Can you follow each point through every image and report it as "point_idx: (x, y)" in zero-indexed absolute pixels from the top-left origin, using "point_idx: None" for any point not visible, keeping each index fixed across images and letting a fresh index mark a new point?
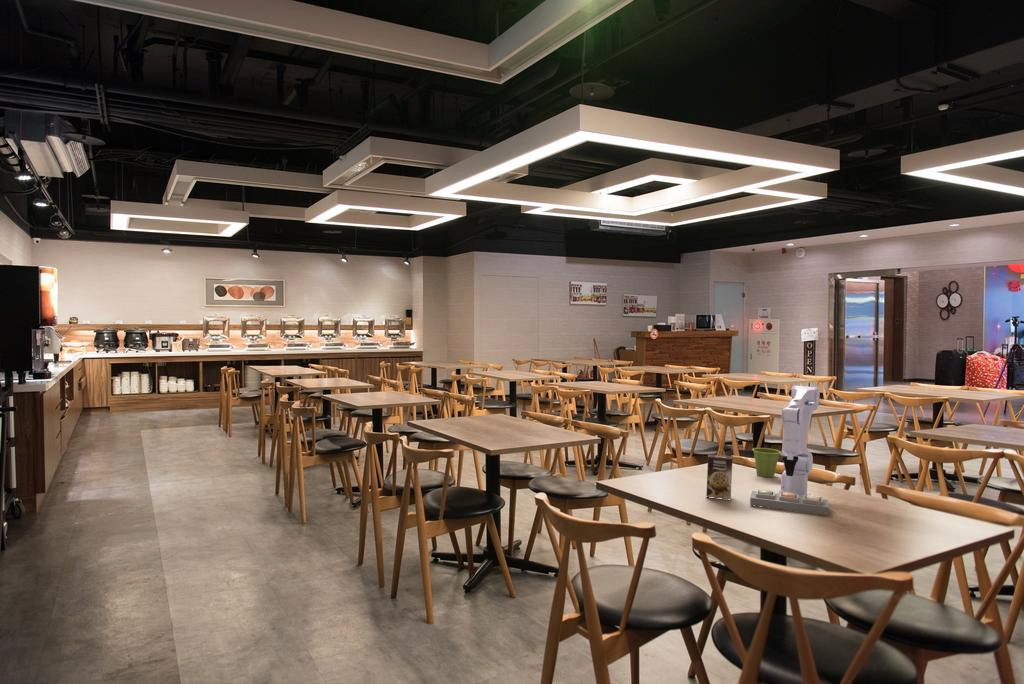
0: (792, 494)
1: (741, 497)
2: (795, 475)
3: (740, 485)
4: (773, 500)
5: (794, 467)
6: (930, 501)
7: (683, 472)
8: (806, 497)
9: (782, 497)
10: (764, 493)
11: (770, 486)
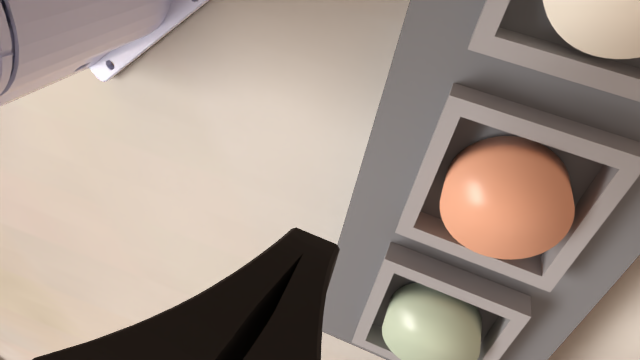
0: (524, 187)
1: None
2: (30, 46)
3: (87, 241)
4: (575, 319)
5: (320, 354)
6: None
7: (26, 357)
8: (606, 53)
9: (564, 271)
10: (473, 357)
11: None
